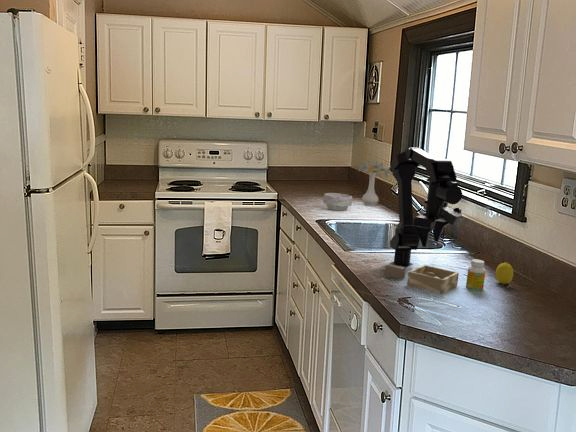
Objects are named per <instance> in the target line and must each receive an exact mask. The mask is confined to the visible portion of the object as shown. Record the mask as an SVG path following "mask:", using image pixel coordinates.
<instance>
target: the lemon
mask: <svg viewBox="0 0 576 432" xmlns="http://www.w3.org/2000/svg"><path fill="white" fill-rule="evenodd" d="M513 277H514V268H513V266H512V265H511V264H510V263H508V262H507V261H505V262H502V263H500V264H499V265H498V266H497V267H496V269H495V279H496V280H497V282H498V283H500V284H501V285H506V284H509V283H510V282H512V280H513Z"/></svg>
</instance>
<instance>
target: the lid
mask: <svg viewBox="0 0 576 432" xmlns="http://www.w3.org/2000/svg"><path fill="white" fill-rule="evenodd" d="M406 268H407V267H403V266H398V265H394V264H390V263H389V264H386V265H385V274H384V275H385V276H387V277H390V278H395V279H398V280H403V279H405V278H406V277H405V276H406Z"/></svg>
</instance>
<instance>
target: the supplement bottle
mask: <svg viewBox="0 0 576 432" xmlns="http://www.w3.org/2000/svg"><path fill="white" fill-rule="evenodd" d="M485 279H486V269H485V261H484V260H482V259H476V258H475V259H474V258H473V259H471V261H470V266H468V269H467V276H466V281H465V282H466V283H465V288H466V289H468V290H469V291H473V292H474V291H475V292H477V291H478V292H482V291H484V286H485V285H484V284H485Z"/></svg>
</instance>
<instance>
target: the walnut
mask: <svg viewBox="0 0 576 432" xmlns="http://www.w3.org/2000/svg"><path fill="white" fill-rule="evenodd" d="M426 275H428V276H432V277H436V276H435V274H434V273H433V272H428V273H426Z"/></svg>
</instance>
